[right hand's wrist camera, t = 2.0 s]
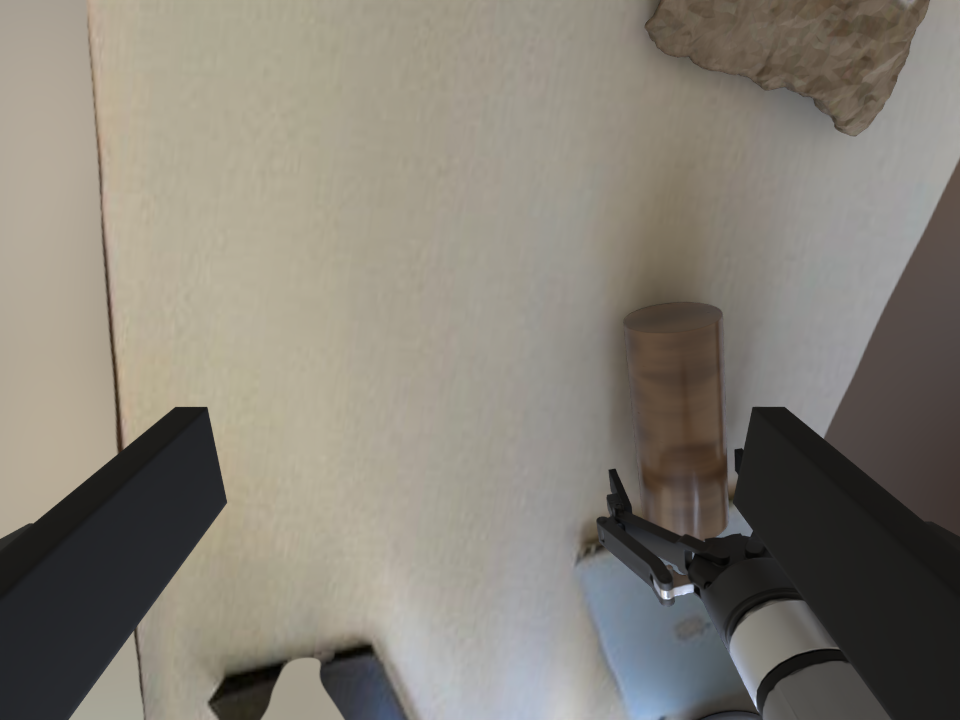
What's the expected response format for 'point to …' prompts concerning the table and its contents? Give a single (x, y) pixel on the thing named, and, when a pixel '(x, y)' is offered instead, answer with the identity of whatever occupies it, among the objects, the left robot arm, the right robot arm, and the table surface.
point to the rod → (680, 416)
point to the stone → (799, 47)
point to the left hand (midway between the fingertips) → (675, 469)
